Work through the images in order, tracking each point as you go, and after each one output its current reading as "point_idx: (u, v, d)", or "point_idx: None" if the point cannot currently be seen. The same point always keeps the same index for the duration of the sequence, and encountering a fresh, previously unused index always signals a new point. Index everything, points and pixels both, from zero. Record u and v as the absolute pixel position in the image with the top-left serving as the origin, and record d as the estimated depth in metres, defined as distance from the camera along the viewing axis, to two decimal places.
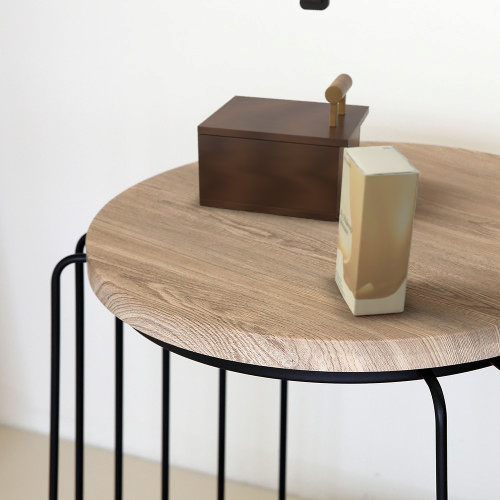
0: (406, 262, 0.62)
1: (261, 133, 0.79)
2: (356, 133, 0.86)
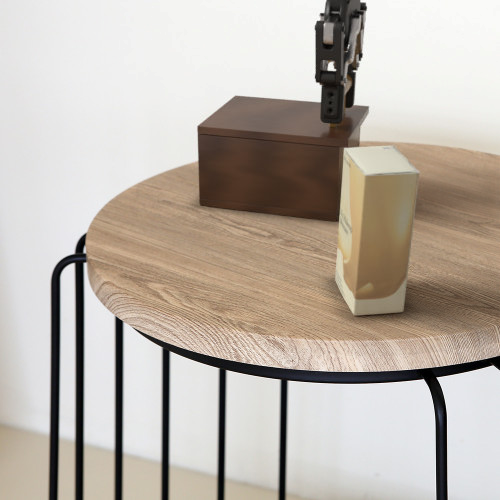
0: (406, 262, 0.62)
1: (261, 133, 0.79)
2: (356, 133, 0.86)
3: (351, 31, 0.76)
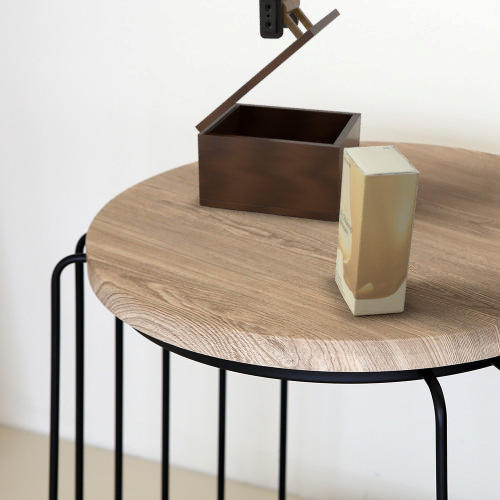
0: (406, 262, 0.62)
1: (242, 87, 0.77)
2: (356, 133, 0.86)
3: None
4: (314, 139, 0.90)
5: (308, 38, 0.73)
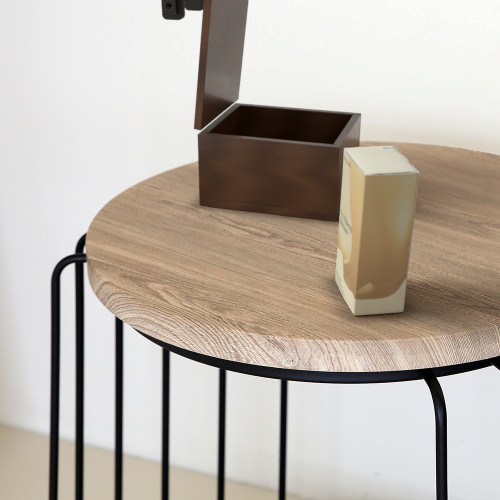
0: (406, 262, 0.62)
1: (200, 63, 0.78)
2: (356, 133, 0.86)
3: None
4: (314, 139, 0.90)
5: None
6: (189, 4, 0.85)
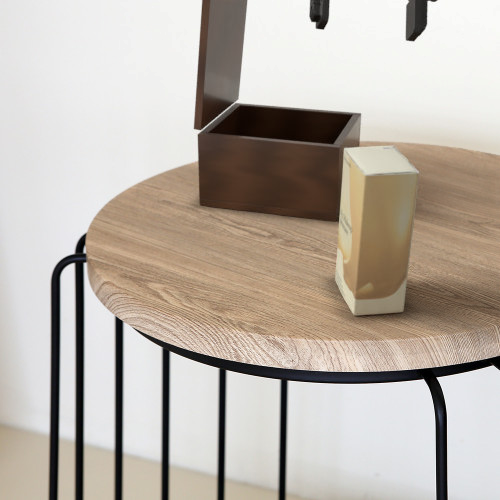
0: (406, 262, 0.62)
1: (199, 63, 0.78)
2: (356, 133, 0.86)
3: None
4: (314, 139, 0.90)
5: None
6: (407, 33, 0.73)
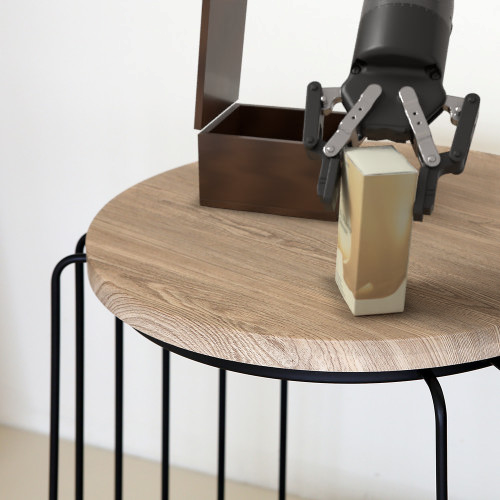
0: (405, 262, 0.62)
1: (199, 63, 0.78)
2: None
3: None
4: None
5: None
6: None
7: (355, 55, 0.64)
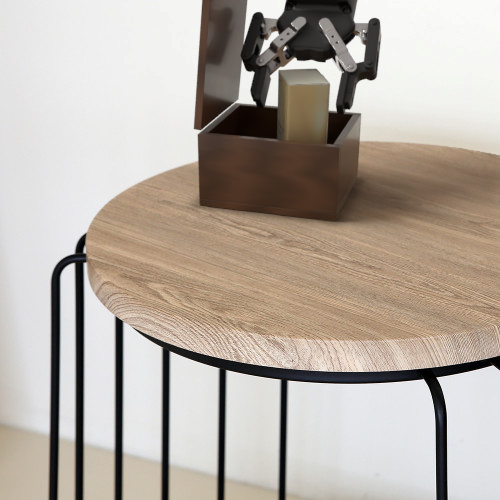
0: None
1: (199, 63, 0.78)
2: (356, 133, 0.86)
3: None
4: None
5: None
6: None
7: None
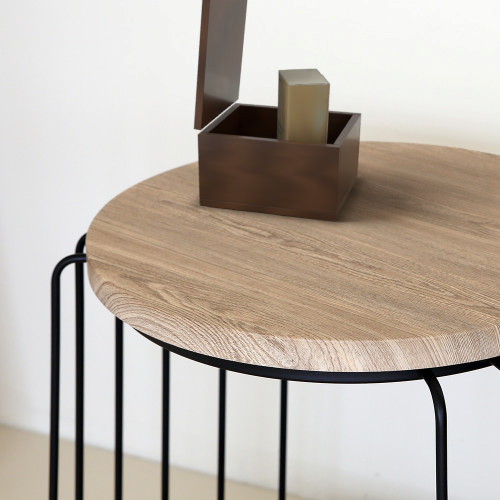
0: None
1: (199, 63, 0.78)
2: (356, 133, 0.86)
3: None
4: None
5: None
6: None
7: None
